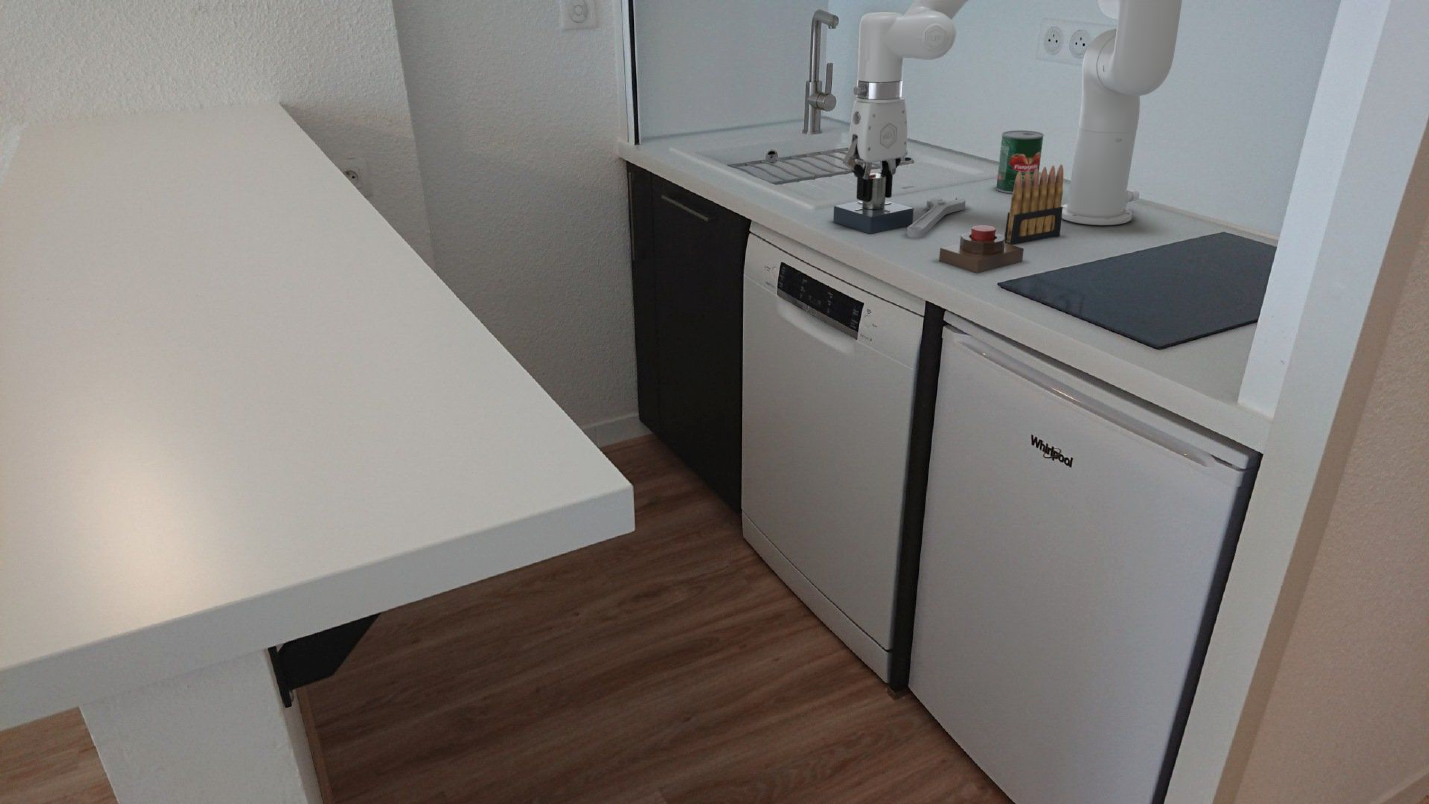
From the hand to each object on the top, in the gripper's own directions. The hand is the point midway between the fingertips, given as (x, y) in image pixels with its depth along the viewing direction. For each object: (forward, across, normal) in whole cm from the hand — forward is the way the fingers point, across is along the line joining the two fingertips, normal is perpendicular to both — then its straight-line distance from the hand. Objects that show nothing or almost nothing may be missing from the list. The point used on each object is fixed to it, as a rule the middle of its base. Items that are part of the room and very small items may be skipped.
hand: (873, 197), depth 169 cm
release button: (+1, -2, -28) cm, 28 cm away
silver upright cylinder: (+2, 0, 0) cm, 2 cm away
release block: (+5, -2, -28) cm, 28 cm away
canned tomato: (+5, +40, +2) cm, 40 cm away
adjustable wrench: (+5, +10, -4) cm, 12 cm away
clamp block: (+5, 0, 0) cm, 5 cm away
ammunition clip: (+5, +14, -24) cm, 28 cm away
